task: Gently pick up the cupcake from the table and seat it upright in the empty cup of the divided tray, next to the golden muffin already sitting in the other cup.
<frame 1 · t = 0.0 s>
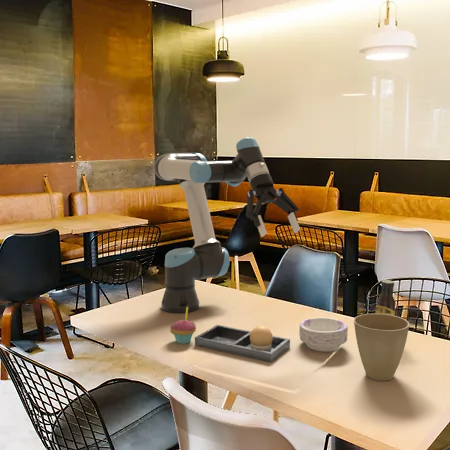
hand: (281, 233, 177), 36 cm above the table, tool tilted 35°, fingers open, 13 cm apart
sauce bottle: (383, 338, 182), on the table
divided tray: (242, 348, 173), on the table
cupcake: (183, 341, 179), on the table
paper bowls: (322, 348, 174), on the table
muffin: (261, 350, 169), point 1 cm above the table, touching divided tray
plant pot: (378, 375, 153), on the table
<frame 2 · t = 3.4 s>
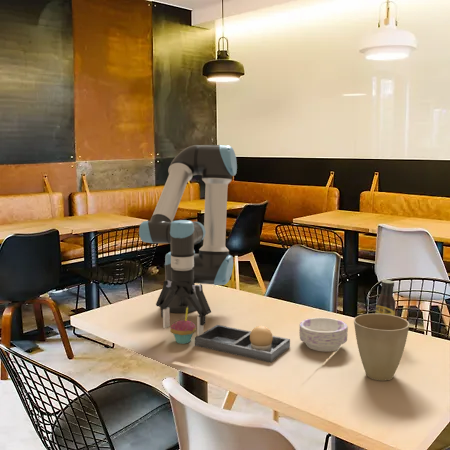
hand: (183, 330, 178), 4 cm above the table, tool pointing down, fingers open, 13 cm apart
nothing on the table moved.
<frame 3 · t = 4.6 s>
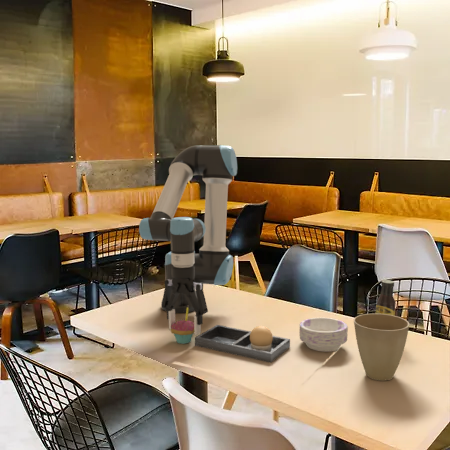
hand: (184, 331, 178), 4 cm above the table, tool pointing down, fingers open, 9 cm apart
cupcake: (183, 341, 179), on the table, touching gripper
everything else where it was.
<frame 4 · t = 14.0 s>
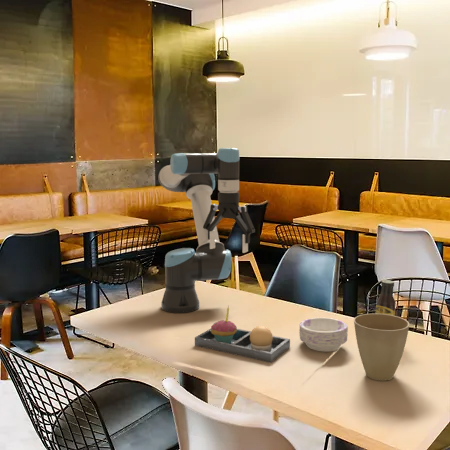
hand: (228, 250, 195), 27 cm above the table, tool pointing down, fingers open, 13 cm apart
cupcake: (223, 342, 176), point 1 cm above the table, touching divided tray
everything else where it was.
at the end: cupcake inside the target area on the divided tray (0.0 cm from its centre), point 0.6 cm above the divided tray's base; cupcake tilted 0°; the gripper is holding nothing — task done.
